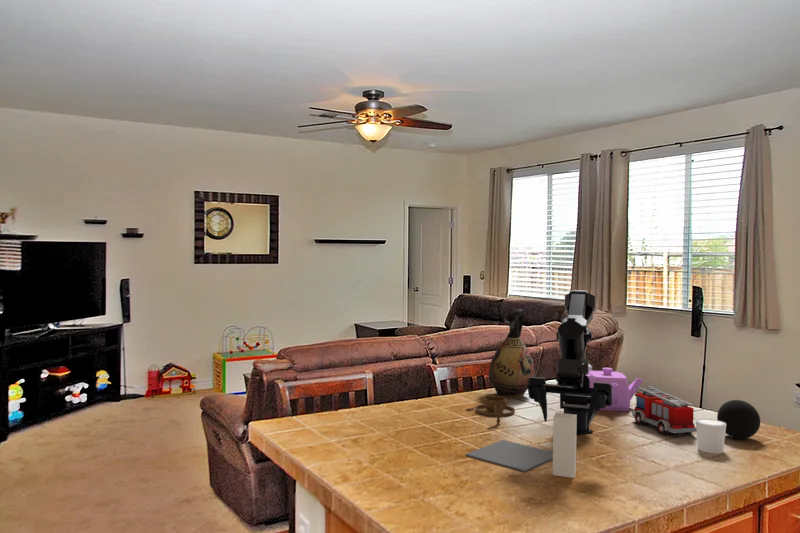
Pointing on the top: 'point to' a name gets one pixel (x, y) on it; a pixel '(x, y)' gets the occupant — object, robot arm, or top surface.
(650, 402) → the toy fire truck
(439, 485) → the top surface
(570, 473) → the off-white post
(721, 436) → the white short cylinder
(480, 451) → the charcoal rubber mat
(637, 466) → the top surface
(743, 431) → the decorative ball
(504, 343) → the ceramic jug
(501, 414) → the place setting
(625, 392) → the teakettle
